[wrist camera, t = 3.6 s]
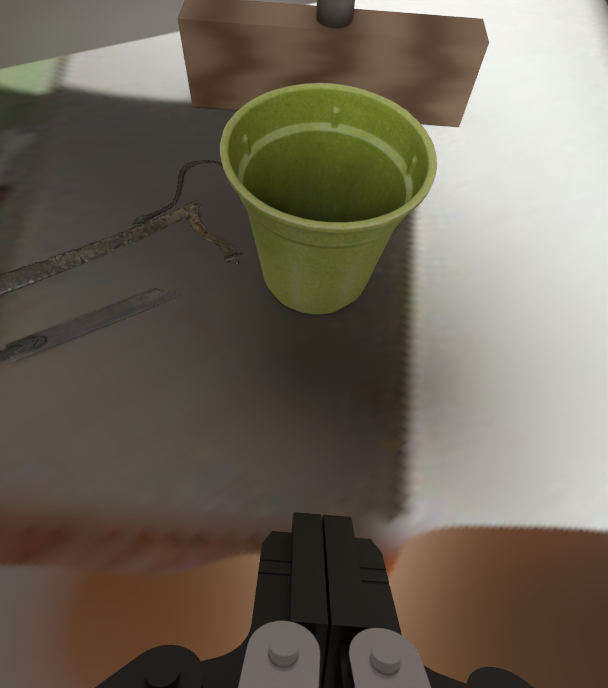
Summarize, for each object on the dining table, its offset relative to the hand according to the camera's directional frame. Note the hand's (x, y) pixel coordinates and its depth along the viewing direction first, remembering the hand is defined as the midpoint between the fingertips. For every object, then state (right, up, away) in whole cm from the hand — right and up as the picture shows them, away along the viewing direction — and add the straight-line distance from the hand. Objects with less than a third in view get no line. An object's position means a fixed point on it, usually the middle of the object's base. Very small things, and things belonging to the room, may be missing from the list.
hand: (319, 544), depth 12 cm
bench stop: (+1, +23, +24) cm, 34 cm away
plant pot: (0, +9, +16) cm, 18 cm away
